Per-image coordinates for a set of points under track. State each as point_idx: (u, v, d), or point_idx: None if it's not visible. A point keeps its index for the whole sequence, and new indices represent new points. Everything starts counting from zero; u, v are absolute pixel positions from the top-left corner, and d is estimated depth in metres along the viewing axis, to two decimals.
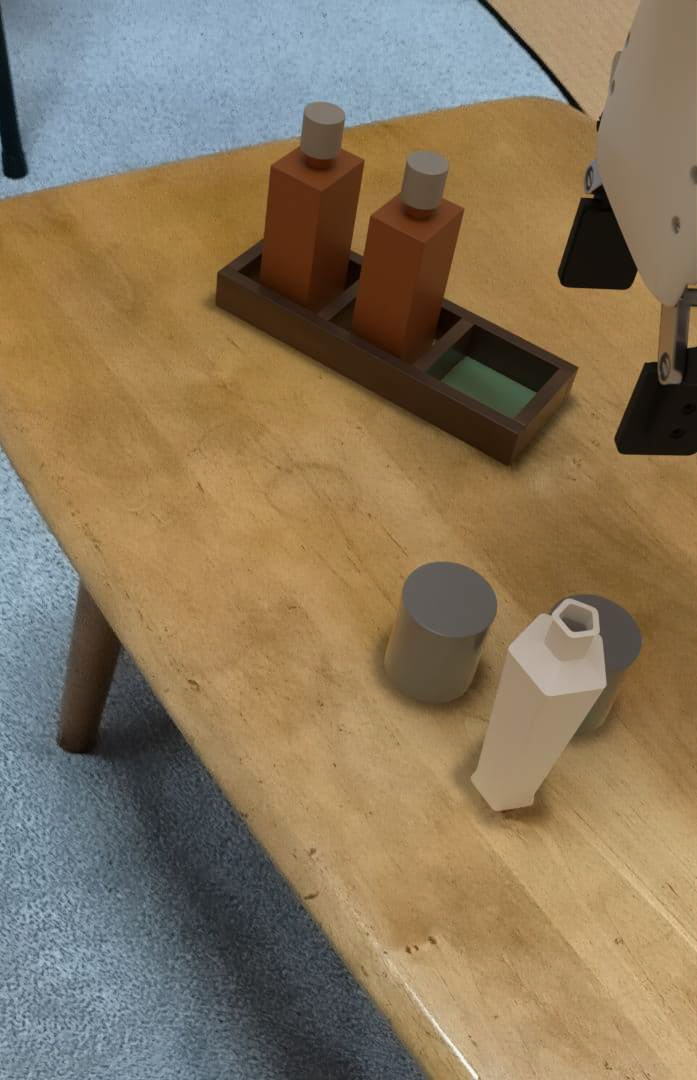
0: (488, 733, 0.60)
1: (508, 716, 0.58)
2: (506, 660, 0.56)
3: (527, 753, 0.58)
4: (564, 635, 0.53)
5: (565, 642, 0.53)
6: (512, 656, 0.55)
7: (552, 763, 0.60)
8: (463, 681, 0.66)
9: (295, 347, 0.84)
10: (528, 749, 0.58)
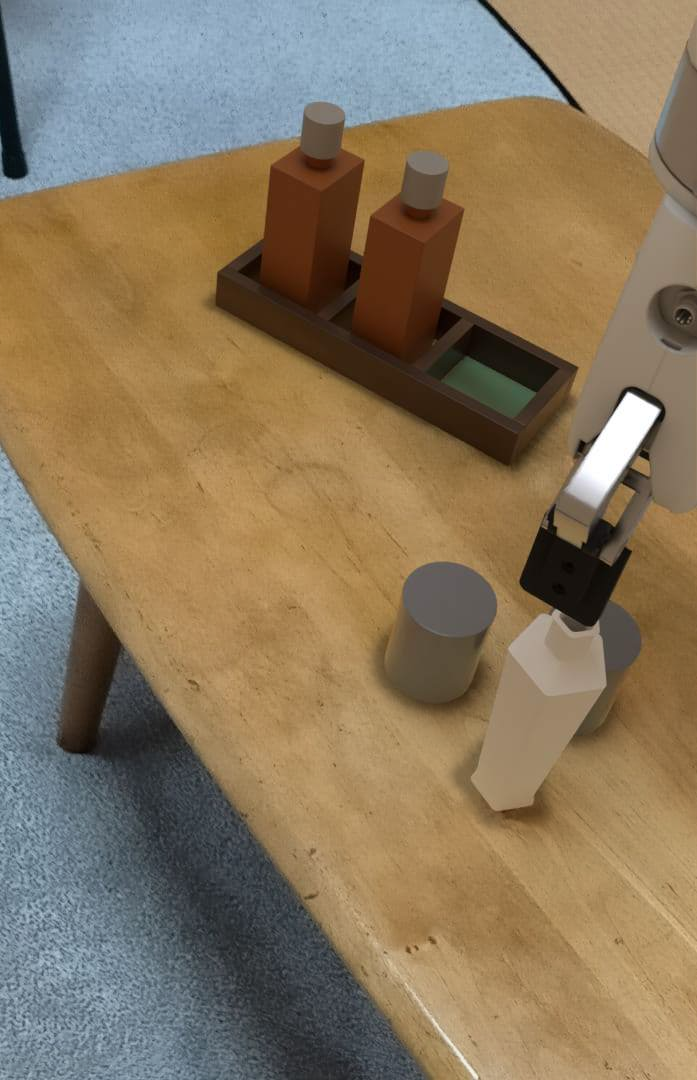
0: (488, 733, 0.60)
1: (508, 716, 0.58)
2: (506, 660, 0.56)
3: (527, 753, 0.58)
4: (564, 635, 0.53)
5: (565, 642, 0.53)
6: (512, 656, 0.55)
7: (552, 763, 0.60)
8: (463, 681, 0.66)
9: (295, 347, 0.84)
10: (528, 749, 0.58)
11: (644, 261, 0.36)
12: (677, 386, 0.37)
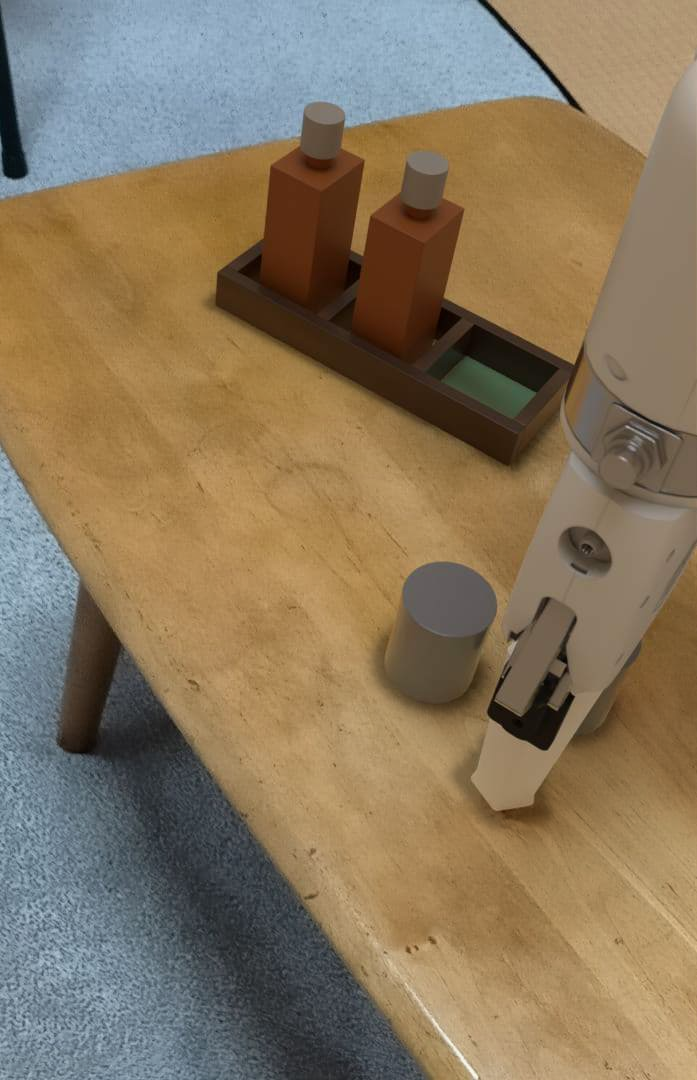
0: (488, 733, 0.60)
1: None
2: (505, 661, 0.56)
3: (526, 754, 0.58)
4: None
5: None
6: None
7: (551, 764, 0.60)
8: (463, 681, 0.66)
9: (295, 347, 0.84)
10: (528, 750, 0.58)
11: (555, 504, 0.44)
12: (576, 618, 0.46)
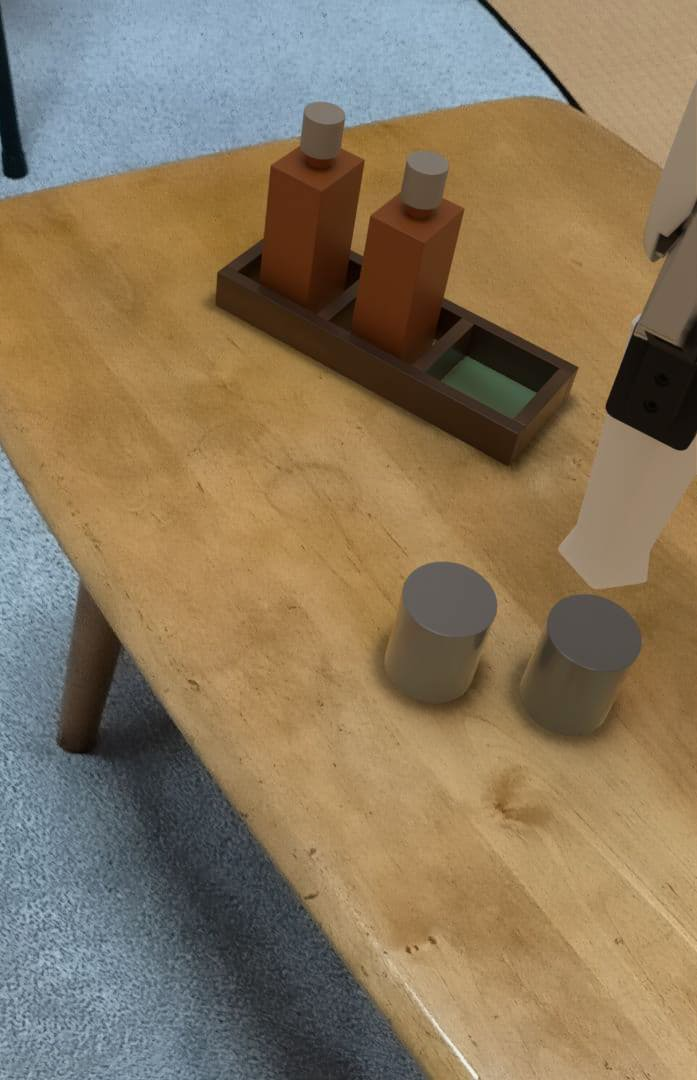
0: (596, 461, 0.48)
1: (627, 425, 0.45)
2: (628, 341, 0.43)
3: (650, 476, 0.46)
4: None
5: None
6: None
7: (678, 497, 0.47)
8: (463, 681, 0.66)
9: (295, 347, 0.84)
10: (653, 468, 0.45)
11: None
12: None
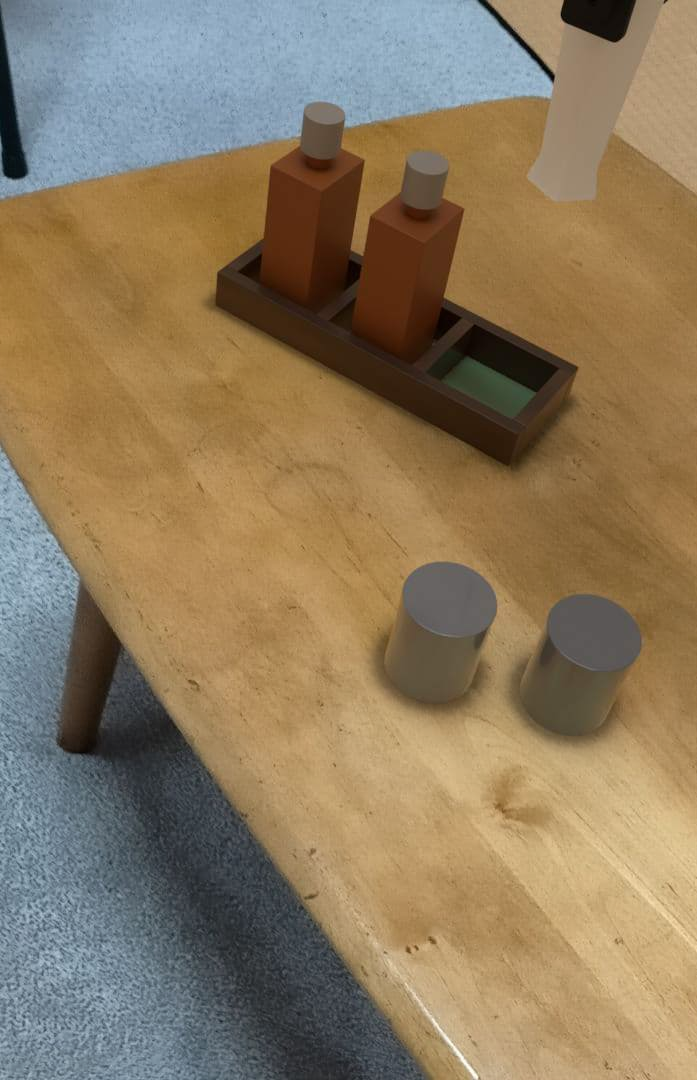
0: (555, 84, 0.62)
1: (577, 40, 0.60)
2: None
3: (594, 82, 0.60)
4: None
5: None
6: None
7: (617, 110, 0.62)
8: (463, 681, 0.66)
9: (295, 347, 0.84)
10: (596, 74, 0.60)
11: None
12: None
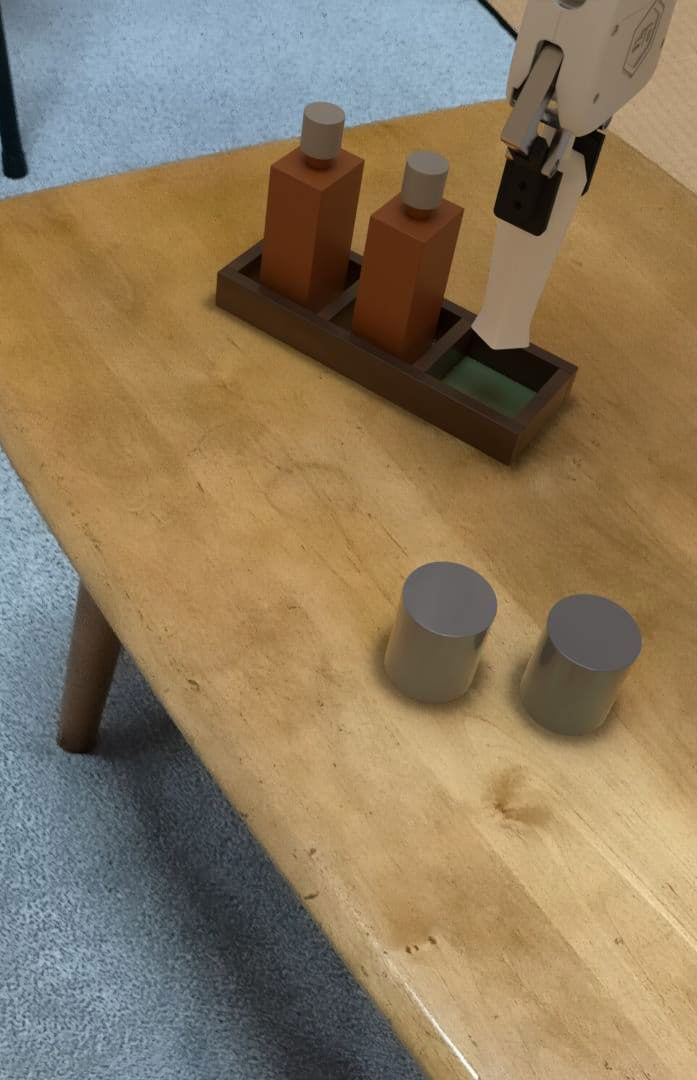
0: (492, 257, 0.75)
1: (509, 227, 0.72)
2: None
3: (523, 261, 0.73)
4: (553, 130, 0.68)
5: None
6: None
7: (544, 280, 0.74)
8: (463, 681, 0.66)
9: (295, 347, 0.84)
10: (525, 255, 0.72)
11: None
12: (563, 51, 0.60)
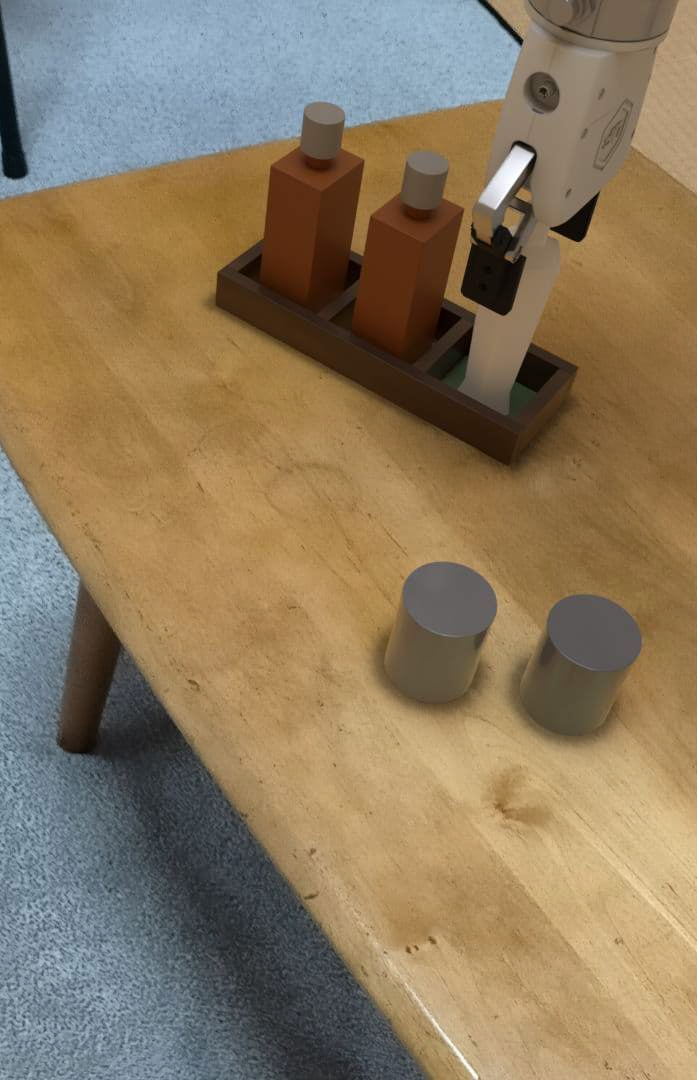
0: (474, 333, 0.79)
1: None
2: None
3: (502, 338, 0.77)
4: None
5: None
6: None
7: (522, 355, 0.79)
8: (463, 681, 0.66)
9: (295, 347, 0.84)
10: (504, 333, 0.77)
11: (520, 60, 0.62)
12: (542, 136, 0.63)
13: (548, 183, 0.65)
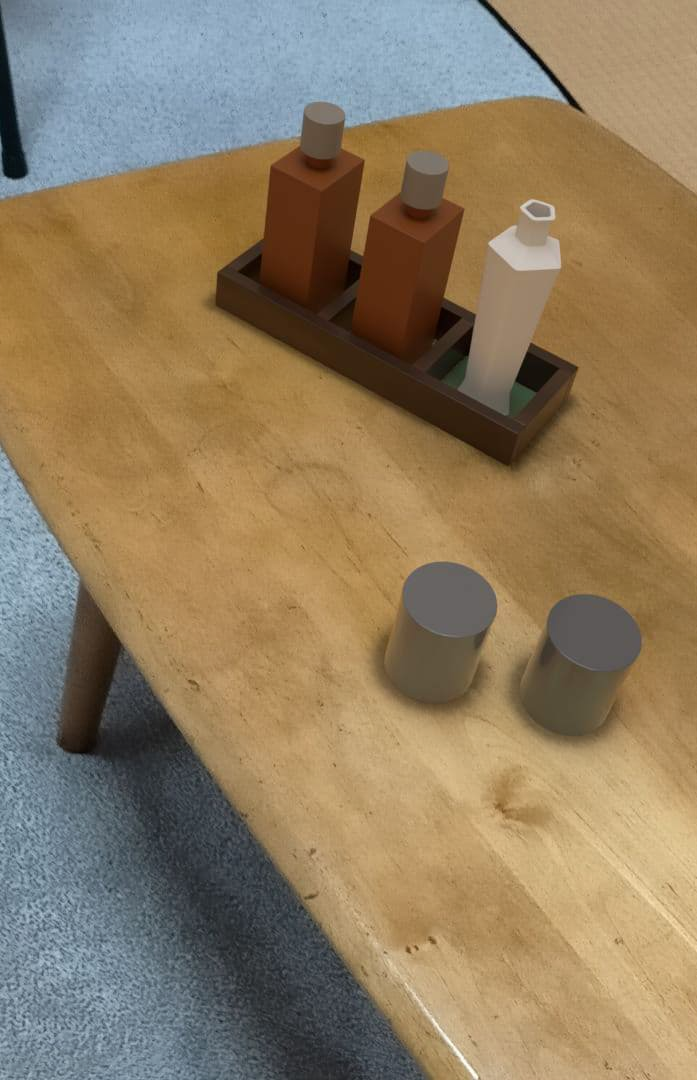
0: (474, 333, 0.79)
1: (488, 307, 0.77)
2: (486, 254, 0.75)
3: (503, 338, 0.77)
4: (529, 221, 0.72)
5: (530, 227, 0.72)
6: (491, 248, 0.74)
7: (522, 355, 0.79)
8: (463, 681, 0.66)
9: (295, 347, 0.84)
10: (504, 333, 0.77)
11: None
12: None
13: None
